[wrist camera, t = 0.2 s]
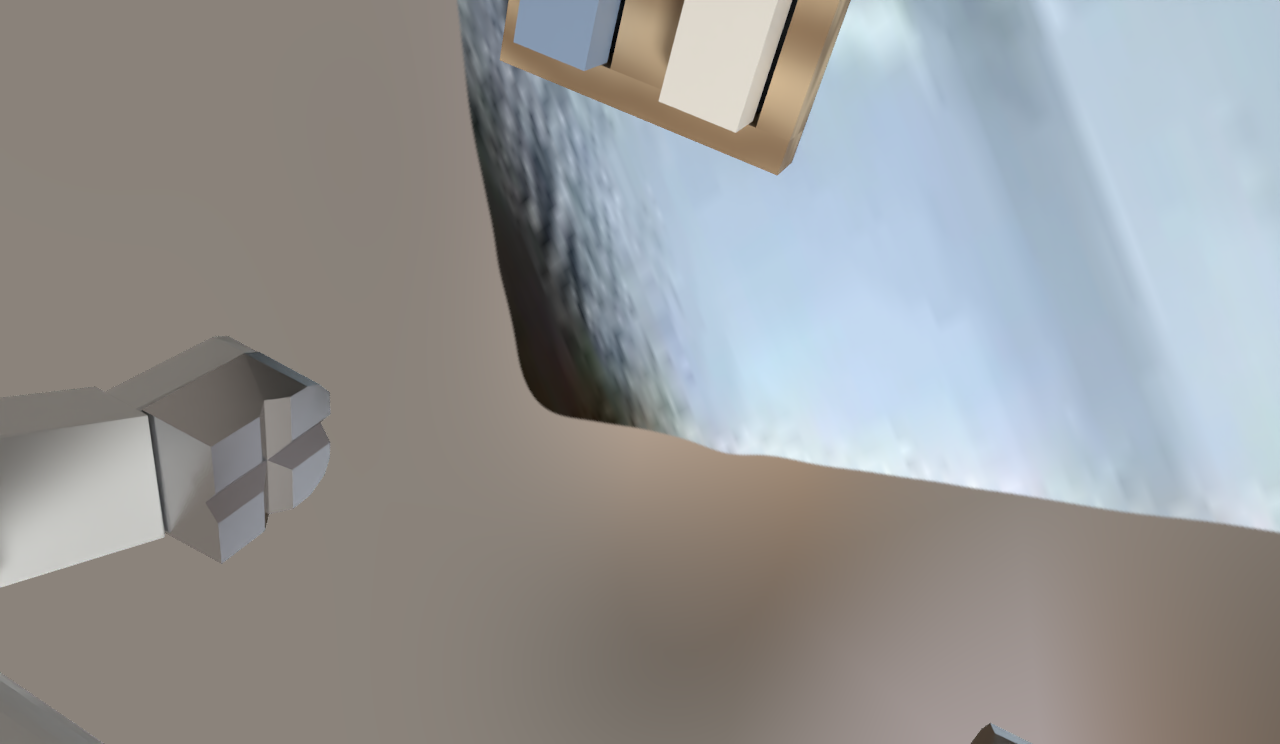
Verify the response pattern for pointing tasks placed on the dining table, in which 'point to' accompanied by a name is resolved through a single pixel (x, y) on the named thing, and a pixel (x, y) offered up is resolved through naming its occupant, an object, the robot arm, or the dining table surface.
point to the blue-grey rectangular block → (568, 29)
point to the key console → (644, 62)
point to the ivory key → (723, 58)
